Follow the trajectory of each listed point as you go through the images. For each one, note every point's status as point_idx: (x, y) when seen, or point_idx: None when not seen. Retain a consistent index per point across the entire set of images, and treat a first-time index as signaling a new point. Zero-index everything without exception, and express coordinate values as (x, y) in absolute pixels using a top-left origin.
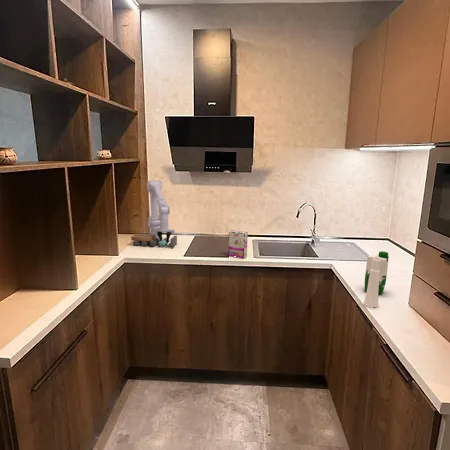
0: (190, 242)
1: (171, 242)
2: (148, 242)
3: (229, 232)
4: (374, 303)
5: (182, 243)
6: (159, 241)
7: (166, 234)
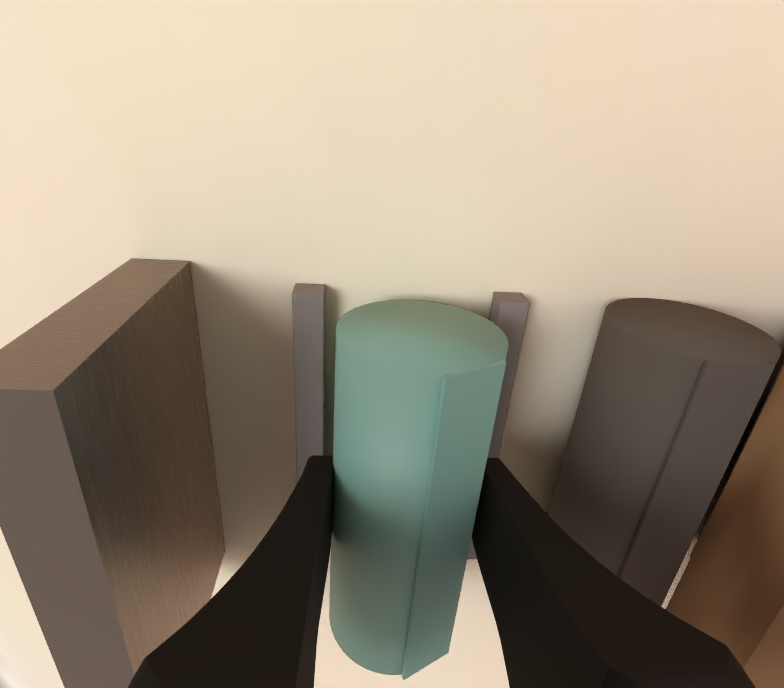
0: (6, 675)
1: (79, 325)
2: None
3: None
4: None
5: None
6: None
7: (279, 668)
